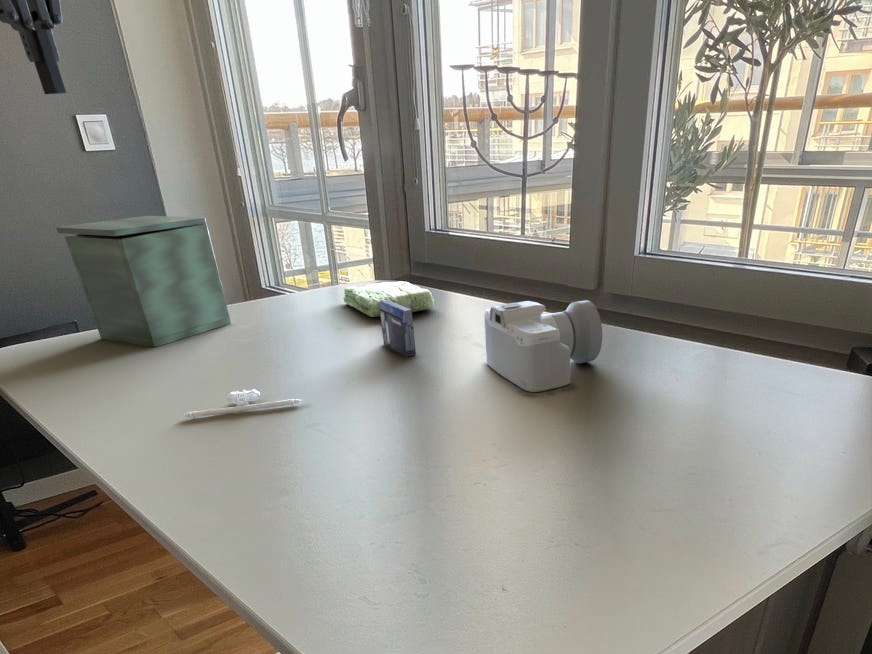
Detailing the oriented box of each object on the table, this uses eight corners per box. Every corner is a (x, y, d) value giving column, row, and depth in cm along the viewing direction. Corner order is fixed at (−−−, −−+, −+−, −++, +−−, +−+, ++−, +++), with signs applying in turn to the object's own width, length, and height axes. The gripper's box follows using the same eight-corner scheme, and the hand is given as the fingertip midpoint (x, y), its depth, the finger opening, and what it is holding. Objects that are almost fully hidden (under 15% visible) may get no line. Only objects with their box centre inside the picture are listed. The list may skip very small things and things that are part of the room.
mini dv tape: (383, 344, 105) (378, 301, 102) (392, 342, 106) (388, 299, 102) (406, 356, 100) (401, 311, 96) (415, 354, 100) (411, 309, 97)
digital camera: (612, 411, 89) (628, 335, 81) (505, 420, 87) (511, 342, 79) (575, 347, 99) (586, 274, 92) (478, 353, 97) (482, 279, 89)
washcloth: (406, 293, 134) (404, 274, 132) (439, 310, 121) (437, 290, 119) (340, 302, 130) (337, 283, 128) (367, 321, 117) (364, 301, 115)
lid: (114, 236, 100) (112, 230, 100) (57, 233, 106) (55, 227, 106) (206, 223, 111) (205, 217, 111) (150, 221, 118) (148, 215, 117)
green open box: (155, 347, 110) (120, 239, 101) (100, 338, 116) (64, 236, 107) (231, 323, 121) (206, 223, 112) (178, 316, 127) (150, 221, 118)
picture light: (184, 419, 83) (178, 402, 81) (187, 408, 86) (181, 390, 85) (302, 404, 85) (299, 387, 84) (301, 393, 88) (297, 377, 87)
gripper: (-71, -186, 75) (25, 93, 89) (42, -159, 83) (114, 91, 98) (-105, -171, 78) (-7, 96, 92) (7, -147, 87) (81, 94, 101)
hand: (55, 93), depth 95 cm, fingers closed
